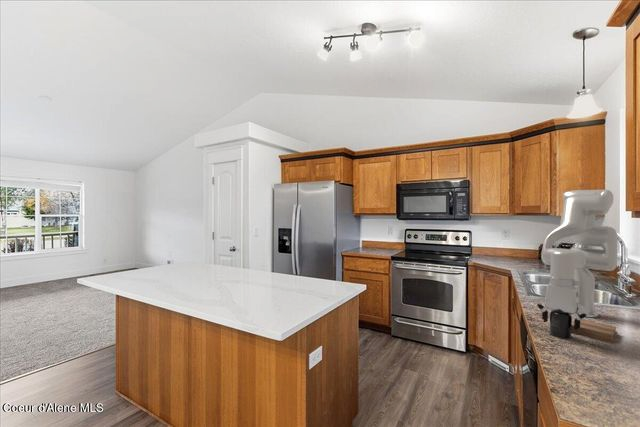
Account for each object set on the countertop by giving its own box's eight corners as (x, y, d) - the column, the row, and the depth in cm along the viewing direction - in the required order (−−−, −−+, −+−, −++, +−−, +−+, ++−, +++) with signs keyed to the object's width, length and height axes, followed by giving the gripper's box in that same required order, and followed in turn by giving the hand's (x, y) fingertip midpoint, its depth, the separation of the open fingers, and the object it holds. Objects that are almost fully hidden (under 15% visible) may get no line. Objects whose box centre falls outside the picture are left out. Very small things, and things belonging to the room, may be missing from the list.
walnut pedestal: (575, 324, 131) (575, 317, 130) (617, 334, 121) (617, 327, 121) (568, 332, 122) (569, 324, 122) (613, 343, 112) (613, 335, 112)
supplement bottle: (575, 339, 115) (576, 308, 115) (555, 338, 116) (556, 307, 116) (564, 332, 122) (565, 303, 122) (545, 331, 123) (546, 302, 123)
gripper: (592, 285, 114) (591, 329, 115) (538, 276, 128) (537, 316, 128) (589, 288, 110) (587, 334, 110) (533, 279, 123) (531, 320, 123)
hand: (560, 325), depth 119 cm, fingers open, 9 cm apart
